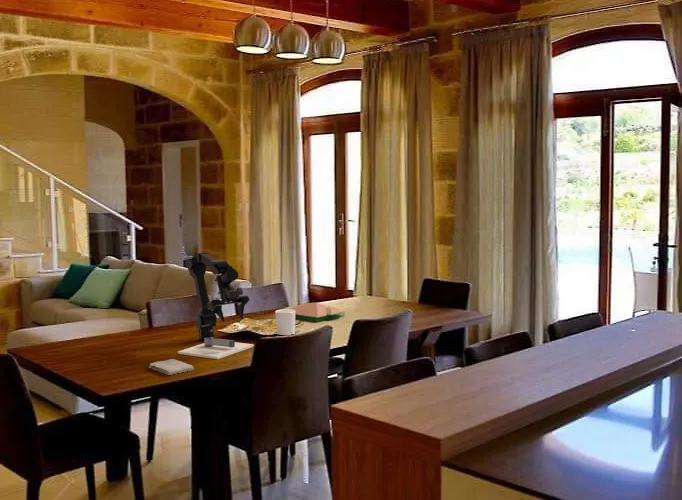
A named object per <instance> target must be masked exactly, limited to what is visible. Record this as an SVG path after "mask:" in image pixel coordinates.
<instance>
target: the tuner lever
mask: <svg viewBox="0 0 682 500" xmlns="http://www.w3.org/2000/svg"><path fill="white" fill-rule="evenodd" d="M203 343H204V344H205V346H206V347H210V346H213V345H216V346H224V347H231V348H233V347H235V340H233V339H225V338H224V339H223V338H216V337H215V338H213V337H206V338H204V341H203Z"/></svg>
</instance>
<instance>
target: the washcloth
mask: <svg viewBox="0 0 682 500" xmlns="http://www.w3.org/2000/svg"><path fill="white" fill-rule="evenodd" d="M148 368H149V369H150V368H152V369H155V370H157V371H160V372H163V373H165V374H168V375H171V376H174V375H173V374H175V375H178V374H177V373H179V374H183V373H182V372H184V373H187V371H188V372H192V371H194V370H195V369H194V366H193V365H192V364H188V363H186V362H184V361H181V360H177V359H175V358H170V359H167V360H162V361H161V360H160V361H155V362H150V363H149V366H148ZM152 369H151V370H152Z"/></svg>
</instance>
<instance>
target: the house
mask: <svg viewBox="0 0 682 500" xmlns="http://www.w3.org/2000/svg"><path fill="white" fill-rule="evenodd" d="M290 309H293V310H295V315H296V316H298V317H297V320H304V318H305V317H307V321H309V322H310V321H311V322H312V321H313V320H316V323H318V322H319V321H321V320H325V318H326V321H329V316H331V318H339V317H344V316H345V312H346V311H347V310H345V309H341V308H338V307H334V306H330V305H326V304H322V303H319V302H306V303H303V304H300V305H297V306H295V307H291V308H290Z"/></svg>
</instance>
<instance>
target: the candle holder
mask: <svg viewBox="0 0 682 500" xmlns="http://www.w3.org/2000/svg"><path fill="white" fill-rule="evenodd" d="M275 321H276V330H277V331H276V332H277V335H278V334H279V335H291V334H295V335H296V314H295V310H293V309H291V308H284V309H283V308H281V309H277V310H275Z"/></svg>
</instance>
